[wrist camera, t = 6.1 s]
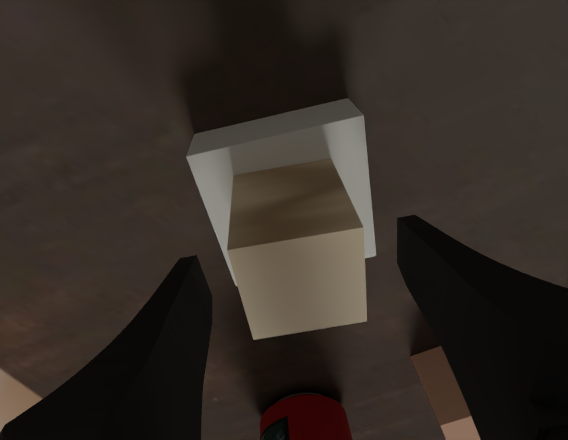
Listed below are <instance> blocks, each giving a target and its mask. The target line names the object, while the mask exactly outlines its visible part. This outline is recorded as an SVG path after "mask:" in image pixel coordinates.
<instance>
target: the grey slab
mask: <svg viewBox="0 0 568 440" xmlns="http://www.w3.org/2000/svg"><path fill="white" fill-rule="evenodd" d="M186 157H187V160H188V163H189V165H190V168H191V170H192V173H193V176H194V178H195V181H196V183H197V186H198V189H199V191H200V194H201V197H202V199H203V202H204V204H205V207H206V210H207V212H208V215H209V217H210V220H211V223H212V225H213V228H214V231H215V233H216V236H217V238H218V241H219V244H220V246H221V249H222V251H223V254H224V257H225V259H226V262H227V265H228V267H229V270H230V272H231V275H232V278H233V280H234V283H235V285H236V286H237V282H236V279H235V276H234V272H233V269H232V265H231V262H230V259H229V255H228V252H227V245H228V233H229V221H230V209H231V198H232V186H233V175H237V174H243V173H249V172H255V171H261V170H267V169H273V168H278V167H284V166H290V165H296V164H302V163H308V162H314V161H320V160H325V159H332V161H333V163H334V165H335V168H336V170H337V172H338V174H339V176H340V178H341V180H342V182H343V184H344V187H345V189H346V191H347V193H348V195H349V197H350V199H351V201H352V204H353V206H354V208H355V210H356V212H357V214H358V216H359V218H360V220H361V223H362V225H363V227H364V249H365V258H369V257H373V256H376V249H375V237H374V226H373V215H372V204H371V192H370V181H369V170H368V159H367V147H366V136H365V125H364V115H363V114H362V113H361V112H360V111H359V110H358V109H357V108H356V106H355V105H354V104H353V103H352V102H351V101H350V100H349V99H348V98H346V99H342V100H337V101H333V102H329V103H325V104H320V105H316V106H312V107H308V108H303V109H299V110H295V111H290V112H286V113H282V114H278V115H273V116H269V117H265V118H261V119H256V120H252V121H248V122H243V123H239V124H235V125H231V126H226V127H222V128H218V129H214V130H209V131H205V132H201V133H196V134H194V136H193V139H192V142H191V145H190V147H189V150H188V153H187V156H186Z"/></svg>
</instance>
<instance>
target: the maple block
mask: <svg viewBox="0 0 568 440" xmlns="http://www.w3.org/2000/svg"><path fill="white" fill-rule="evenodd" d="M227 252H228V255H229V259H230V262H231V265H232V269H233V272H234V276H235V279H236V282H237V286H238V289H239V292H240V296H241V299H242V303H243V306H244V309H245V313H246V316H247V320H248V323H249V326H250V330H251V333H252V337H253V340H256V339H262V338H268V337H274V336H281V335H287V334H293V333H299V332H305V331H311V330H317V329H323V328H329V327H335V326H342V325H348V324H354V323H360V322H366V321H367V307H366V278H365V249H364V227H363V225H362V223H361V220H360V218H359V216H358V214H357V212H356V210H355V208H354V206H353V204H352V201H351V199H350V197H349V195H348V193H347V191H346V189H345V187H344V184H343V182H342V180H341V178H340V176H339V174H338V172H337V170H336V168H335V165H334V163H333V161H332V159H325V160H320V161H314V162H308V163H302V164H296V165H290V166H284V167H278V168H273V169H267V170H261V171H255V172H249V173H243V174H237V175H233V186H232V198H231V209H230V221H229V233H228V245H227Z"/></svg>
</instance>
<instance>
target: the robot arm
mask: <svg viewBox="0 0 568 440" xmlns="http://www.w3.org/2000/svg"><path fill="white" fill-rule="evenodd" d="M397 263H398V266H399V269H400V271H401V274H402V276H403V278H404V281H405V283H406V285H407V288H408V289H409V291H410V293H411V295H412V296H413V298H414V300H415V302H416V303H417V305H418V307H419V309H420V310H421V312H422V314H423V315H424V317H425V319H426V321H427V322H428V324H429V326H430V328H431V329H432V331H433V333H434V334H435V336H436V338H437V340H438V342H439V344H440V345H441V347H442V349H443V351H444V354H445V356H446V358H447V360H448V363H449V365H450V367H451V369H452V372H453V374H454V376H455V378H456V381H457V383H458V385H459V388H460V390H461V392H462V395H463V397H464V400H465V402H466V404H467V407H468V409H469V412H470V414H471V417H472V419H473V422H474V424H475V427H476V429H477V432H478V434H479V437H480V439H481V440H568V288H565V287H562V286H558V285H555V284H552V283H550V282H547V281H544V280H541V279H538V278H535V277H532V276H530V275H527V274H525V273H522V272H520V271H517V270H515V269H513V268H510V267H508V266H506V265H503V264H501V263H499V262H497V261H495V260H492V259H490V258H488V257H486V256H484V255H482V254H481V253H479V252H477V251H475V250H473V249H471V248H469V247H467V246H465V245H464V244H462V243H460V242H458V241H457V240H455V239H453V238H452V237H450V236H448V235H447V234H445V233H443V232H442V231H440V230H439V229H437V228H435V227H434V226H432V225H431V224H429V223H427V222H426V221H424V220H423V219H421V218H419V217H418V216H416V215H411V216H405V217H400V218H397ZM211 326H212V294H211V292H210V289H209V286H208V284H207V281H206V279H205V276H204V273H203V271H202V268H201V265H200V263H199V260H198V258H197V255H195V256H190V257H184V258H180V259H179V260H178V261H177V263H176V264H175V265H174V267H173V268H172V270H171V271H170V272H169V274H168V275H167V277H166V278H165V279H164V281H163V282H162V283H161V285H160V286H159V287H158V289H157V290H156V291H155V293H154V294H153V295H152V297H151V298H150V299H149V301H148V302H147V303H146V304H145V305H144V307H143V308H142V309H141V310H140V311H139V313H138V314H137V315H136V316H135V317H134V319H133V320H132V321H131V322H130V323H129V324H128V325H127V327H126V328H125V329H124V330H123V331H122V332H121V333H120V334H119V335H118V336H117V337H116V338H115V339H114V340H113V341H112V342H111V343H110V344H109V345H108V346H107V347H106V348H105V349H104V350H103V351H101V352H100V353H99V354H98V355H97V356H96V357H95V358H94V359H92V360H91V361H90V362H89V363H88V364H87V365H86V366H85V367H83V368H82V369H81V370H80V371H79V372H78V373H76V374H75V375H74V376H73V377H71V378H70V379H69V380H68V381H66V382H65V383H64V384H62V385H61V386H60V387H58V388H57V389H56V390H55V391H53V392H52V393H51V394H49V395H48V396H46V397H45V398H44V399H42V400H41V401H40V402H38V403H37V404H35V405H34V406H32V407H31V408H29V409H28V410H26V411H25V412H23V413H22V414H20V415H19V416H17V417H16V418H15V419H13V420H12V421H10V422H8V423H7V424H6V425H5V426H4V427H3V429H2V431H1V432H0V440H201V414H202V392H203V382H204V375H205V368H206V361H207V354H208V348H209V341H210V334H211Z"/></svg>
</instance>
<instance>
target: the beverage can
mask: <svg viewBox="0 0 568 440" xmlns="http://www.w3.org/2000/svg"><path fill="white" fill-rule="evenodd" d="M260 440H352V436H351V432H350V428H349V424H348V420H347V416H346V412H345V409H344V408H343V406H342V405H341V404H340V403H339V402H337V401H336V400H334V399H332V398H329V397H326V396H323V395H320V394H316V393H297V394H293V395H289V396H287V397H285V398H283V399H281V400H280V401H278V402H277V403H275V404H274V405H272V406H271V407H269V408H268V409H267V410H266V411H265V413H264V414H263V416H262V418H261V421H260Z"/></svg>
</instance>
